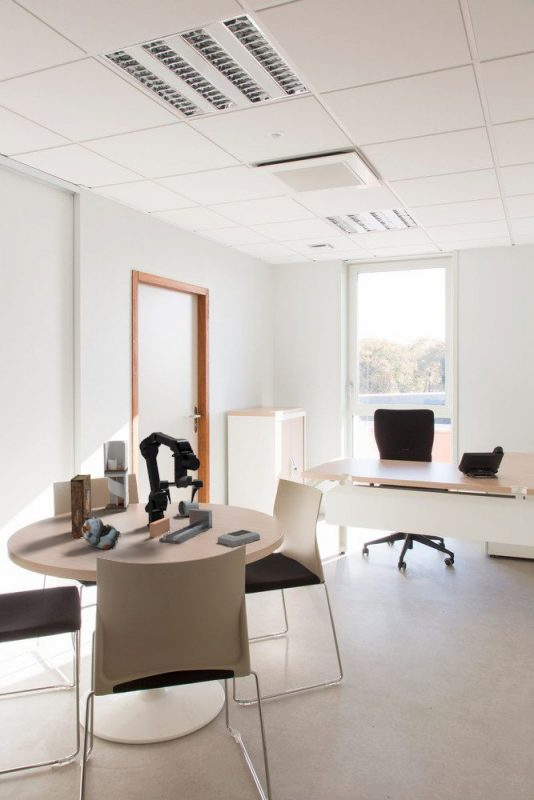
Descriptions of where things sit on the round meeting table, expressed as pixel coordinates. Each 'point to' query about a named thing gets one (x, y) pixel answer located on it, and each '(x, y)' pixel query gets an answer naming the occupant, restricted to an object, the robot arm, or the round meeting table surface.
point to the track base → (191, 526)
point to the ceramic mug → (187, 507)
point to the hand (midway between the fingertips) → (181, 503)
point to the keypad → (238, 537)
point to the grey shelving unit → (116, 474)
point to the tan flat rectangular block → (159, 527)
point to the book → (80, 503)
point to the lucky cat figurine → (99, 534)
